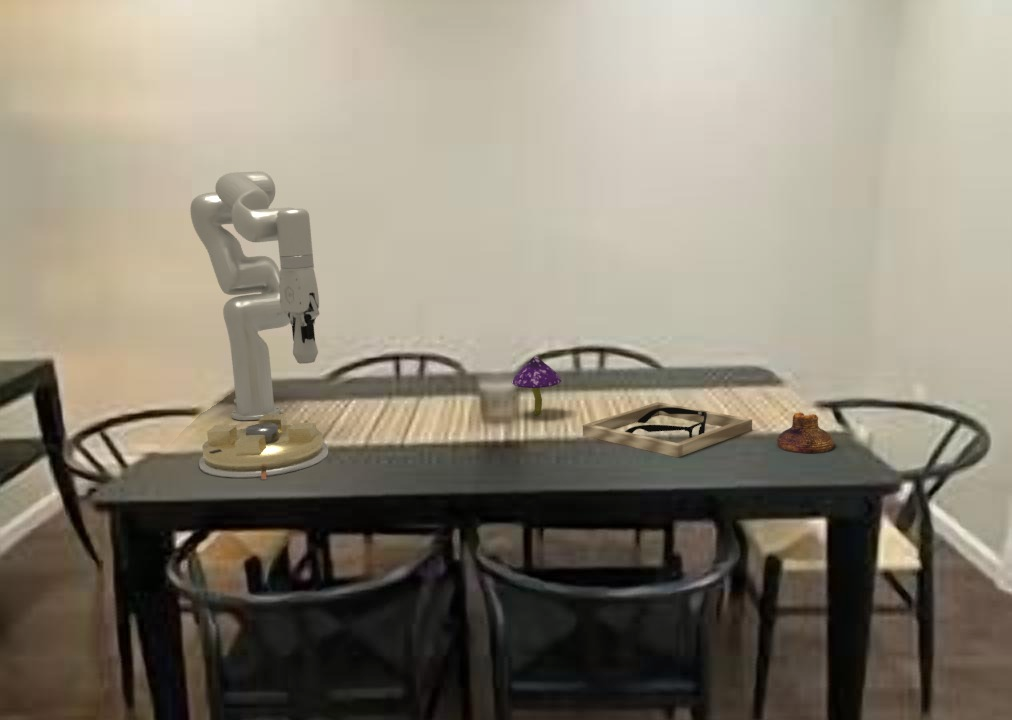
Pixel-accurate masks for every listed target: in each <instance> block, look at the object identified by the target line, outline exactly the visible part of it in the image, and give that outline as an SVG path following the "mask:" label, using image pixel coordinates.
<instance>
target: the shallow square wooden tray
mask: <svg viewBox="0 0 1012 720" xmlns="http://www.w3.org/2000/svg"><path fill="white" fill-rule="evenodd" d="M665 407H674V408H683V409H690V410H696V411H700V412H701V411H703V412H706V413H707V418H706V423H705V424H708V425H713V426H718V428H715V429H712V430H710V431H707V432H704V433H703V434H700V435H695V436H692V438H686V439H684V440H682V441H681V440H680V441H679V442H673V441H668V440H666V439H665V440H664V439H660V438H655V437H650V436H645V435H641V434H636V433H634V432H633V433H628V432H625V431H623V430H619V429H617V428H620V427H623V426H626V425H630V424H633V423H635V422H638V420H639V419H640V418H641V417H643V416H644V415H646V414H647V413H648V412H650V411H652V410H654V409H658V408H665ZM657 415H661V416H666V417H672V418H675V419H683V420H686V421H687V420H688V421H693V422H697V423H702V422H703V420H704V416H700V415H697V414H668V413H666V412H663V411H658V412H657V413H655V414H654V415H653V416H652V417H655V416H657ZM750 431H753V419H752V418H746V417H741V416H735V415H731V414H730V415H729V414H725V413H718V412H713V411H709V410H703V409H698V408H693V407H692V408H691V407H686V406H682V405H676V404H670V403H665V402H659V401H658V402H654V403H651V404H647V405H643V406H641V407H637V408H634V409H632V410H627V411H624V412H621V413H618V414H615V415H611V416H608V417H604V418H602V419H599V420H598V419H597V420H595V421H591V422H588V423H584V424H582V436H583V437H586V438H592V439H595V440H596V439H597V440H600V441H606V442H609V443H614V444H618V445H622V446H626V447H630V448H636V449H639V450H645V451H649V452H653V453H656V454H657V453H658V454H661V455H666V456H670V457H674V458H680V457H684V456H686V455H688V454H692V453H694V452H696V451H699V450H702V449H704V448H707V447H710V446H714V445H715V444H718V443H720V442H724V441H726V440H729V439H732V438H735V437H737V436H739V435H743V434H745V433H748V432H750Z"/></svg>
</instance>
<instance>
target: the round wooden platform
mask: <svg viewBox="0 0 1012 720" xmlns="http://www.w3.org/2000/svg"><path fill="white" fill-rule="evenodd" d="M237 427H238V426H237V425H235V424H234V425H232V424H231V425H214V426H212V427H211V428H210V429H209V430H208V431H206V436H207V440H206V441H205V442H204V443H203V444H202V456H203V458H204V463H205V464H206V465H207V466H209V467H212V468H215V469H220V470H228V471H257V470H267V469H274V468H280V467H285V466H290V465H294V464H297V463H301V462H304V461H306V460H309V459H311V458H313V457H315V456H317V455H318V454H320V453H321V452H322V450H323V443H324V441H323V440H324V439H323V434H322V432H321V430H319V429H317V424H316V422H294V423H292V424H288V422H287V414H286V413H279V414H266V415H264V416H263V417H262V418H261V419H259V420H258V423H257V424H256V423H255V424H251V425H249V426H247V427H245V428H241V429H237Z"/></svg>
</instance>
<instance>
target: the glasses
mask: <svg viewBox="0 0 1012 720" xmlns="http://www.w3.org/2000/svg"><path fill="white" fill-rule="evenodd" d="M658 411H663V412H666V413H668V414H697V415H700V416H704V420H703V422H697V423H695V424H692V425H690V426H681V425H680V426H679V425H666V424H646V423H648V421H649V420H650V419H652V417H654V416H653V415H654V414H655V413H657V412H658ZM706 418H707V413H706V412H703V411H701V412H700V411H696V410H690V409H683V408H674V407H665V408H658V409H654V410H652V411H650V412H648V413H647V414H646V415H644V416H643V417H641V418H640V419H639V420H638V421H637V423H638V424H639V423H640V424H641V423H642V424H641V425H635V426H632V427H630V428H628V429H626V430H625V431H624V432H628V433H633V434H634V432H635V431H637V430H643V431H645V432H648V433H655V432H671V431H672V432H674V431H684V432H688V437H689V438H692V437H693V430H694V429H695V428H696V427H698V426H699V428H698V433H697V434H698V435H700V434H703V433H706V432H705V431H706V424H707V423H706ZM698 435H697V436H698ZM689 438H688V439H689Z"/></svg>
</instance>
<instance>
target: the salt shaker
mask: <svg viewBox="0 0 1012 720" xmlns="http://www.w3.org/2000/svg"><path fill="white" fill-rule="evenodd" d="M309 311H310V310H309V309H308V310H307V311H305V312H309ZM308 315H310V314H308ZM293 317H294V318H296V321H295V333H294V341H293V344H292V345H293V346H292V347H293V349H292V355H293V357H294V358H295V359H294V360H296V363H298V364H300V365H302V364H311V363H315V362H316V359H317V356H318V354H319V349H318V346H317V343H316V340H315V341H314V340H313V339H310V340H309V339H305V343H303V342H302V335H301V326H303V325H302V320H301V314H299V313H293ZM306 317H307V315H306Z"/></svg>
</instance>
